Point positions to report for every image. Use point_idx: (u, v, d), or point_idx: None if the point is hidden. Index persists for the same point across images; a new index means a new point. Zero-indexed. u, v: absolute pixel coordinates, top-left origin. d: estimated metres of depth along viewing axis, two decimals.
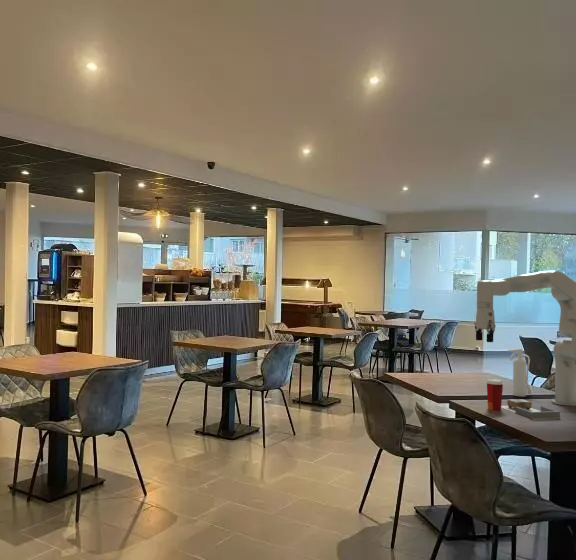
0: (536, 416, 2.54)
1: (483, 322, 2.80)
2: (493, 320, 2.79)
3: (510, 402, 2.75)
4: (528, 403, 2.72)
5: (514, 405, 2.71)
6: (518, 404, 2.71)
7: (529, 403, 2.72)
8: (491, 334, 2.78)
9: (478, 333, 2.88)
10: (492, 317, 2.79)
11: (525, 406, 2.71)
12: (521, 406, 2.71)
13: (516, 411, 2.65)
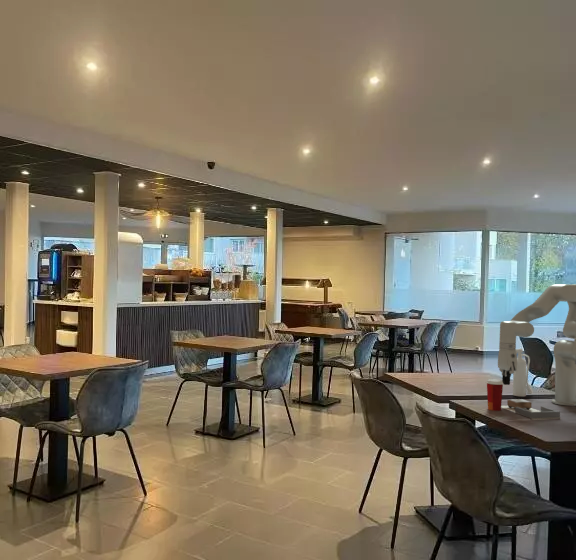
0: (536, 416, 2.54)
1: (505, 363, 2.81)
2: (516, 362, 2.80)
3: (510, 402, 2.75)
4: (528, 403, 2.72)
5: (514, 405, 2.71)
6: (518, 404, 2.71)
7: (529, 403, 2.72)
8: (508, 377, 2.83)
9: None
10: (515, 359, 2.80)
11: (525, 406, 2.71)
12: (521, 406, 2.71)
13: (516, 411, 2.65)
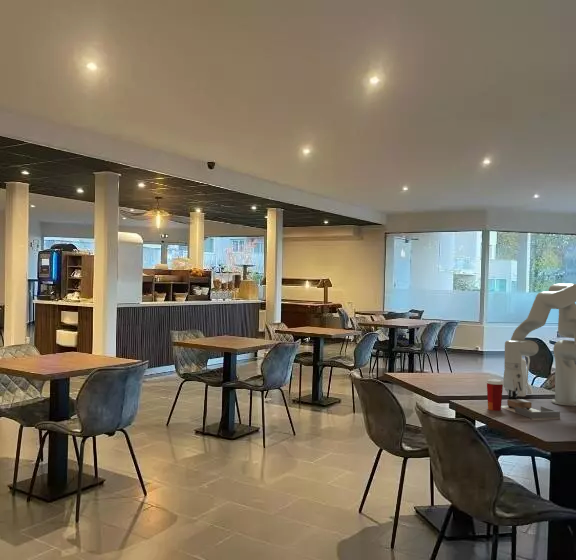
0: (536, 416, 2.54)
1: (511, 383, 2.77)
2: (521, 382, 2.76)
3: (510, 402, 2.75)
4: (528, 403, 2.72)
5: (514, 405, 2.71)
6: (518, 404, 2.71)
7: (529, 403, 2.72)
8: (514, 397, 2.79)
9: None
10: (520, 379, 2.76)
11: (525, 406, 2.71)
12: (521, 406, 2.71)
13: (516, 411, 2.65)
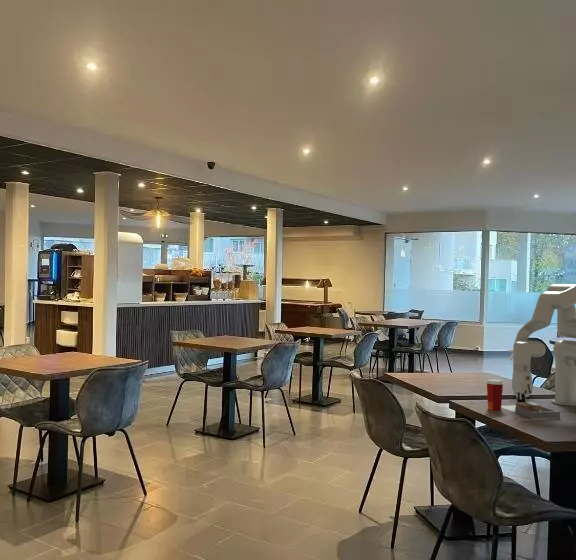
0: (536, 416, 2.54)
1: (520, 386, 2.70)
2: (531, 384, 2.69)
3: (518, 405, 2.68)
4: (537, 406, 2.64)
5: (523, 408, 2.64)
6: (527, 407, 2.63)
7: (538, 406, 2.65)
8: (523, 400, 2.71)
9: None
10: (530, 381, 2.68)
11: (534, 409, 2.64)
12: (530, 409, 2.64)
13: (516, 411, 2.65)
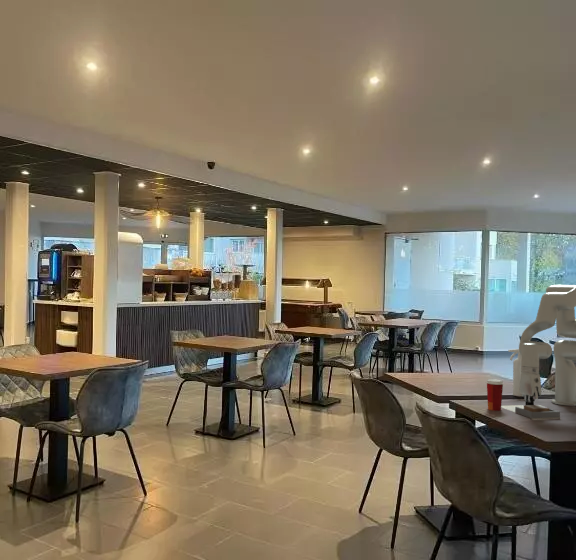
0: (536, 416, 2.54)
1: (529, 388, 2.64)
2: (539, 386, 2.62)
3: (527, 408, 2.61)
4: (546, 409, 2.58)
5: (531, 411, 2.58)
6: (535, 410, 2.57)
7: (547, 409, 2.58)
8: (532, 403, 2.65)
9: None
10: (538, 383, 2.62)
11: None
12: None
13: (516, 411, 2.65)
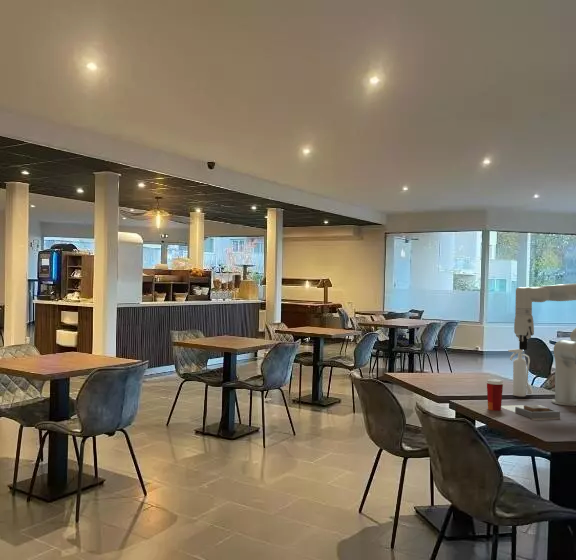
0: (536, 416, 2.54)
1: (522, 328, 2.84)
2: (532, 326, 2.83)
3: (527, 408, 2.61)
4: (546, 409, 2.58)
5: (531, 411, 2.58)
6: (535, 410, 2.57)
7: (547, 409, 2.58)
8: (525, 342, 2.86)
9: None
10: (531, 323, 2.83)
11: None
12: None
13: (516, 411, 2.65)
